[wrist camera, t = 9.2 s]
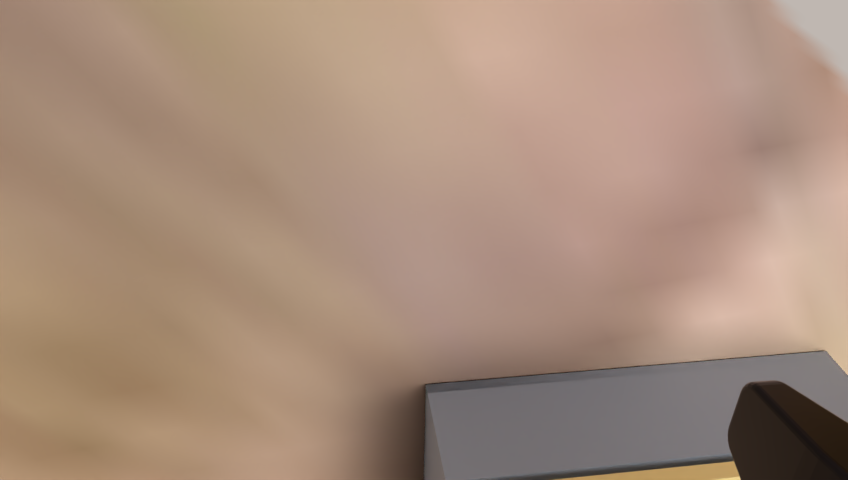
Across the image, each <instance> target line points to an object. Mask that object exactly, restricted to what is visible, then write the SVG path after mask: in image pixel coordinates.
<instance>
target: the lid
mask: <svg viewBox="0 0 848 480" xmlns="http://www.w3.org/2000/svg"><path fill="white" fill-rule="evenodd" d="M554 480H741V479H740V476H739V474H738V471H737V468H736V465H735V463H734V461H732V462H722V463H712V464H702V465H692V466H682V467H673V468H663V469H653V470H643V471H633V472H623V473H613V474H604V475H594V476H584V477H574V478H564V479H554Z"/></svg>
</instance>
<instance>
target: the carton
mask: <svg viewBox="0 0 848 480" xmlns="http://www.w3.org/2000/svg"><path fill="white" fill-rule="evenodd" d="M769 380H777V381H781V382H783V383H785V384H787V385H789V386H790V387H792V388H794V389H795V390H797V391H798V392H800V393H801V394H803V395H805V396H806V397H808V398H809V399H811V400H813V401H814V402H816V403H817V404H819V405H821V406H822V407H824V408H825V409H827V410H829V411H830V412H832V413H833V414H835V415H837V416H838V417H840V418H841V419H843V420H845V421H846V422H848V375H847V374H846V373H845V372H844V371H843V370H842V369H841V367H840V366H839V365H838V364H837V363H836V362H835V361H834V360H833V358H832V357H831V356H830V355H829V354H828V353H827V352H826V351H820V352H808V353H796V354H784V355H772V356H760V357H749V358H737V359H725V360H713V361H701V362H689V363H677V364H665V365H653V366H641V367H630V368H618V369H606V370H594V371H582V372H570V373H558V374H546V375H534V376H522V377H511V378H499V379H487V380H475V381H463V382H451V383H439V384H427V385H426V399H425V442H424V480H554V479H564V478H574V477H584V476H594V475H604V474H613V473H623V472H633V471H643V470H653V469H663V468H673V467H682V466H692V465H702V464H712V463H722V462H732V461H734V460H733V457H732V454H731V452H730V449H729V444H728V428H729V425H730V422H731V419H732V416H733V413H734V410H735V407H736V404H737V401H738V398H739V395H740V392H741V390H742V388H743V387H744V386H745V385H746V384H747V383H749V382H755V381H769Z"/></svg>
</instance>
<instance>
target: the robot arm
mask: <svg viewBox="0 0 848 480" xmlns="http://www.w3.org/2000/svg"><path fill="white" fill-rule="evenodd" d="M728 444H729V449H730V452H731V454H732V457H733V460H734V463H735V465H736V468H737V471H738V474H739V476H740V479H741V480H848V422H846V421H845V420H843V419H841V418H840V417H838V416H837V415H835V414H833V413H832V412H830V411H829V410H827V409H825V408H824V407H822V406H821V405H819V404H817V403H816V402H814V401H813V400H811V399H809V398H808V397H806V396H805V395H803V394H801V393H800V392H798V391H797V390H795V389H794V388H792V387H790V386H789V385H787V384H785V383H783V382H781V381H777V380H769V381H755V382H749V383H747V384H746V385H745V386H744V387H743V388H742V390H741V392H740V395H739V398H738V401H737V404H736V407H735V410H734V413H733V416H732V419H731V422H730V425H729V428H728Z"/></svg>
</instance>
